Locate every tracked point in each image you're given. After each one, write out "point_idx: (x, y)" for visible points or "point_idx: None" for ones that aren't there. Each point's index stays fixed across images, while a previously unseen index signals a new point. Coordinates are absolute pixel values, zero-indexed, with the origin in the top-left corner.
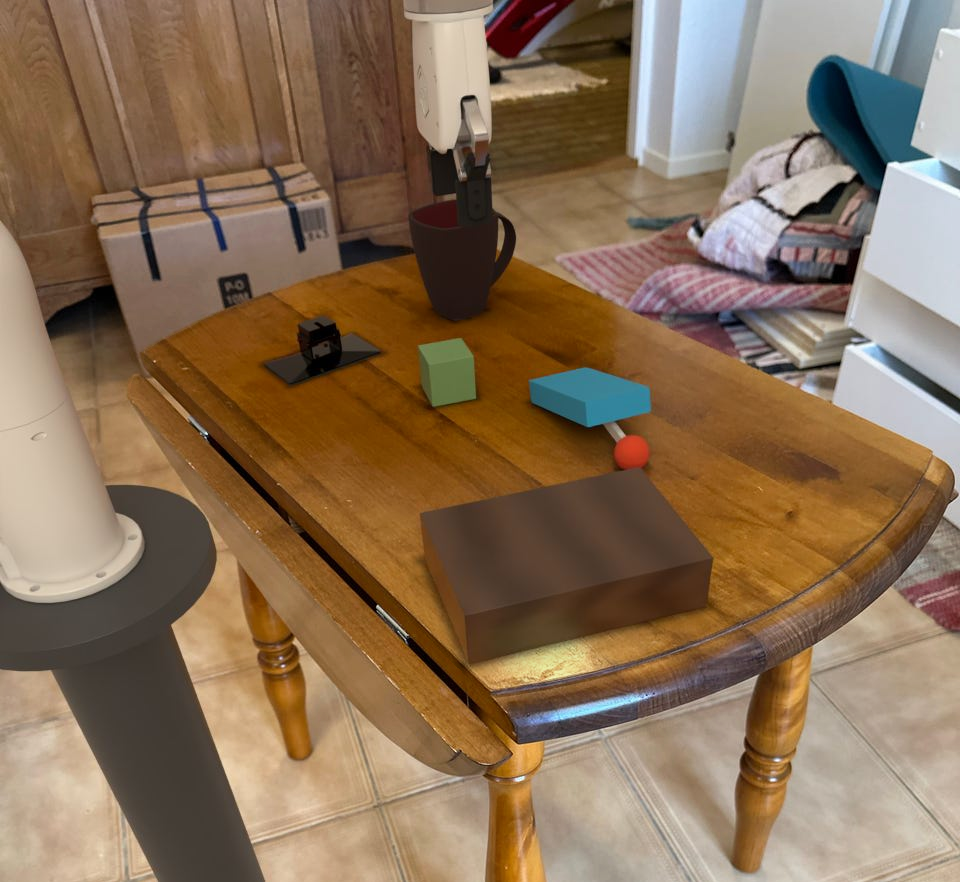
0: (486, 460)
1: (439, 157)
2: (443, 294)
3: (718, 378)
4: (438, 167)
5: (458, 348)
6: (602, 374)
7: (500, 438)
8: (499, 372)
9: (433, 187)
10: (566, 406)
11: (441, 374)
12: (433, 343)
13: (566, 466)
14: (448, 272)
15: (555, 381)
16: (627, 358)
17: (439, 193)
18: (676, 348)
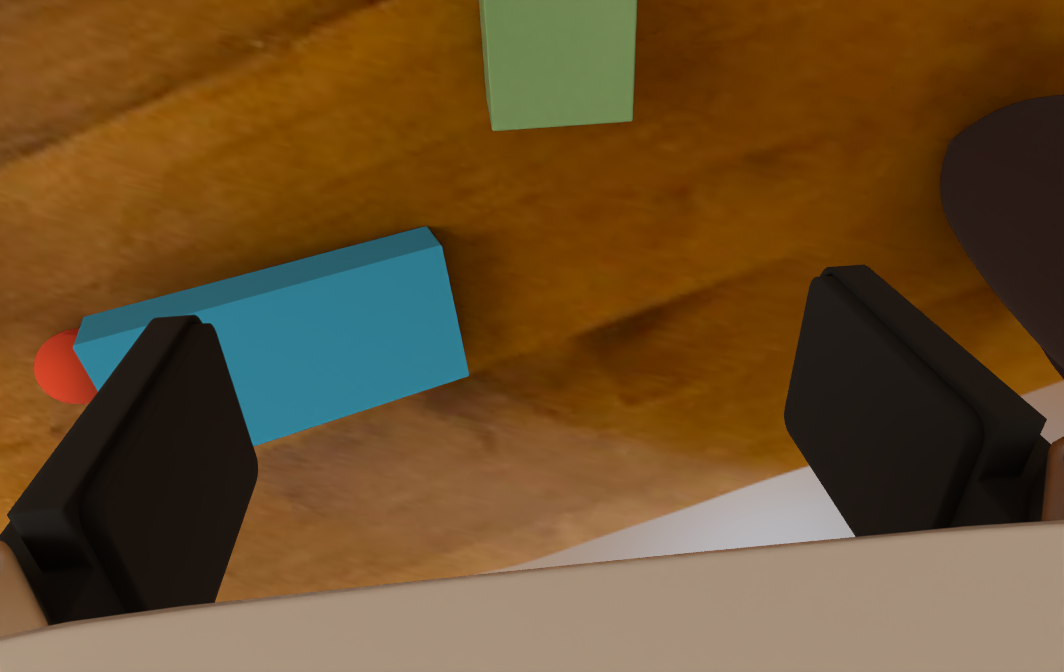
0: (148, 48)
1: (929, 454)
2: (1008, 136)
3: (429, 550)
4: (895, 396)
5: (561, 96)
6: (364, 401)
7: (262, 111)
8: (608, 188)
9: (853, 284)
10: (204, 297)
11: (482, 10)
12: (630, 22)
13: (110, 229)
14: (1026, 177)
15: (374, 302)
16: (562, 445)
17: (813, 298)
18: (567, 523)
